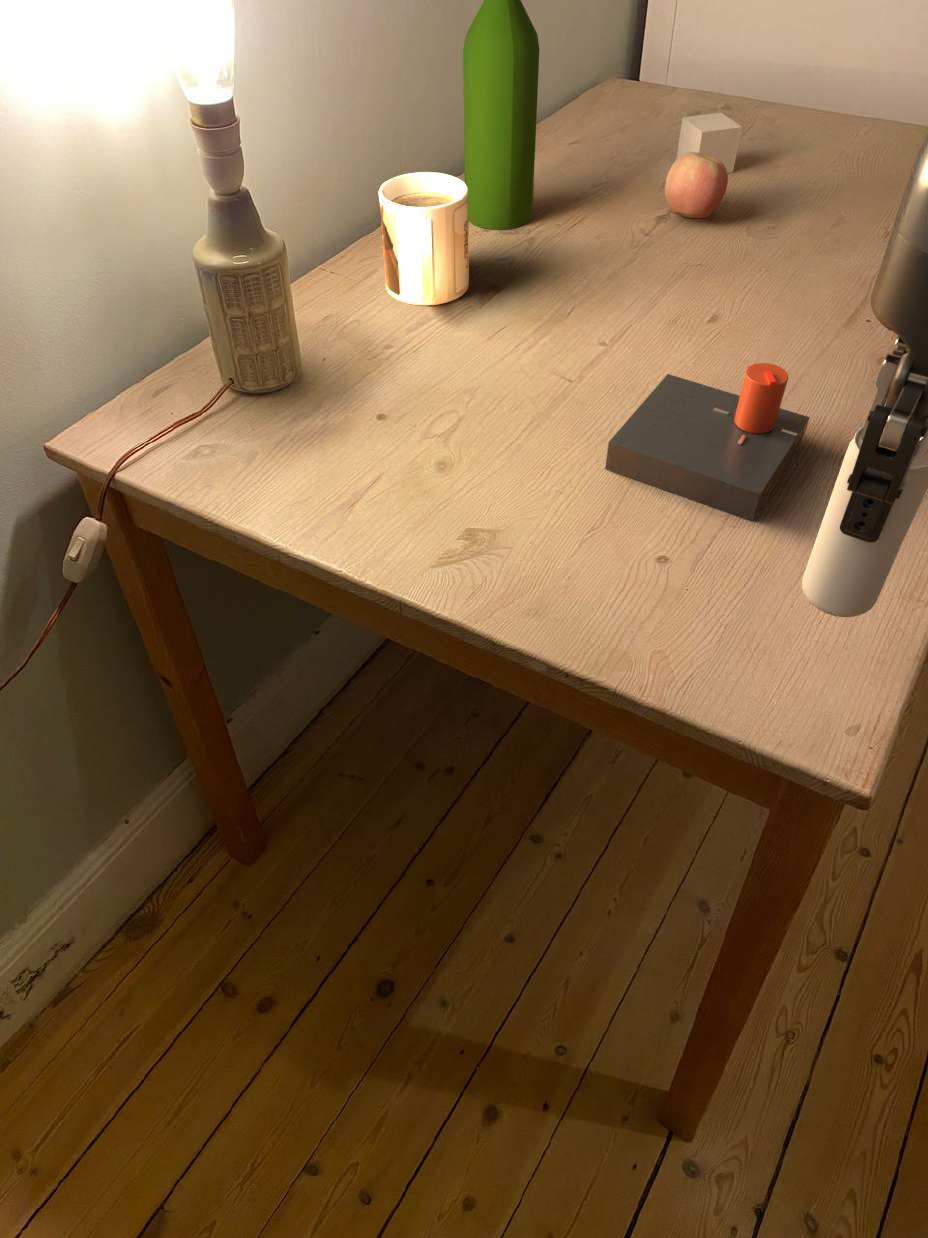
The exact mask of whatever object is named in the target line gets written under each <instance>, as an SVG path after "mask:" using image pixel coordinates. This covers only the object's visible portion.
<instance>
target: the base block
mask: <svg viewBox="0 0 928 1238" xmlns="http://www.w3.org/2000/svg"><path fill="white" fill-rule="evenodd" d="M739 397H740V394H739V395H738V394H735V393H732V392H729V391H725V390H723V389H719V388H715V387H712V386H709V385H706V384H702V383H698V382H696V381H693V380H690V379H686V378H682V377H680V376H676V375H673V374H669V373H666V375H665V376H664V377H663V379H662V380H660V382H659V383H658V384H657V386H656V387H655V388H654V389H653V390H652V391H651V392H650V394H649V395H648V396H647V397H646V398H645V399H644V401H642V403H641V404H640V405H639V406H638V408H636V410H635V411H634V412H633V413H632V414H631V415H630V416H629V418H628V419H627V420H626V421H625V422H624V423H623V425H622V426H621V427H620V428H619V429H618V430H617V432H616V433H615V434H614V435H613V436H612V438H611V439H610V440H609V441H608V444H607V452H606V459H605V467H604V468H605V470H607V471H610V472H613V473H615V474H619V475H621V476H624V477H627V478H630V479H633V480H635V481H638V482H641V483H643V484H647V485H648V486H652V487H655V488H658V489H661V490H664V491H666V492H668V493H672V494H675V495H678V496H680V497H683V498H686V499H689V500H691V501H694V502H697V503H700V504H702V505H706V506H708V507H711V508H713V509H716V510H719V511H721V512H725V513H728V514H730V515H733V516H736V517H739V518H742V519H744V520H747V521H750V522H754V520H755V518H756V517H757V515H758V514H759V512H760V510H761V509H762V507H763V506H764V504H765V503H766V501H767V499H768V498H769V496H770V495H771V493H772V491H773V490H774V488H775V486H776V485H777V484H778V482H779V480H780V479H781V477H782V475H783V474H784V472H785V471H786V469H787V468H788V466H789V464H790V463H791V462H792V459H794V456H795V455H796V453H797V452H798V450H799V448H800V447H801V445H802V443H803V441H804V437H805V434H806V431H807V427H808V424H809V421H810V416H807V415H804V414H801V413H797V412H794V411H791V410H788V409H784V408H781V407H780V409H779V413H778V416H777V420H776V423H775V426H774V428H773V429H772V430H771V431H769V432H767V433H762V434H755V433H749V432H746V431H744V430H742V429H740V428H739V427H738V426H737V425H736V424H735V421H734V418H735V414H736V410H737V406H738V402H739Z"/></svg>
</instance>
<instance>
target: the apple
mask: <svg viewBox="0 0 928 1238" xmlns="http://www.w3.org/2000/svg"><path fill="white" fill-rule="evenodd" d="M728 177H729V175H728V173H727V170H726V167H725V166H724V164H723V163H722V162H721V161H720V160H718V159H716V158H714V157H712V156H710V155H708V154H704V153H697V152H689V153H686V154H684V155H682V156H680V157H679V158H678V159H677V160H676V159H675V161H674V162H673V164H672V165H671V167H670V169H669V171H668V173H667V176H666V179H665V182H664V183H665V184H664V197H665V199H664V200H665V203H666V205H667V207H668V209H669V210H670V212H672V213H673V214H675V215H677V216H681V217H685V218H690V219H704V218H707V217H708V216H710V215H711V214H713V213H714V212H715V211H716V210H717V208H718V207H719V206H720V204H721V202H722V200H723V199H724V196H725V194H726V192H727V187H728V182H729V178H728Z"/></svg>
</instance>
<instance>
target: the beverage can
mask: <svg viewBox="0 0 928 1238" xmlns="http://www.w3.org/2000/svg"><path fill="white" fill-rule="evenodd" d="M863 427H864V425H863V426H861V427H860V428H859V429H858V430H857V431H856V432H855V434H854V437H853V438H852V440H851V441H850V442H849V444H848V446H847V449H846V452H845V454H844V457H843V460H842V464H841V466H840V469H839V473H838V475H837V478H836V480H835V483H834V487H833V489H832V492H831V495H830V498H829V501H828V504H827V506H826V509H825V513H824V516H823V518H822V521H821V524H820V526H819V530H818V533H817V535H816V538H815V541H814V544H813V547H812V549H811V553H810V556H809V558H808V562H807V565H806V568H805V570H804V573H803V576H802V578H801V588H802V591H803V594H804V596H805V597H806V598H807V600H808V601H809V603H811V605H813V606H814V608H816V609H817V610H819V611H821V612H823V613H825V614H826V615H830V616H833V617H837V618H838V617H839V618H854V617H857V616H861V615H864V614H866V613H867V612H869V611H870V610H872V609H873V608H874V606H875V605H876V603H877V601H878V600H879V597H880V595H881V592H882V590H883V587H884V585H885V583H886V581H887V578H888V577H889V574H890V572H891V569H892V567H893V565H894V563H895V560H896V558H897V557H898V553H899V552H900V549H901V547H902V545H903V543H904V540H905V538H906V536H907V534H908V532H909V529H910V527H911V526H912V523H913V521H914V519H915V516H916V514H917V512H918V510H919V508H920V506H921V504H922V502H923V500H924V497H925V495H926V494H927V491H928V452H927V453H926V455H924V456H923V457H920V458H916V459H914V460H913V462H912V465H911V467H910V469H909V472H908V474H907V477H906V479H905V482H907V484H906V486H905V488H904V490H903V491H902V493H901V495H900V498H899V499H897V498H896V500H895V502H894V504H893V505H892V508H891V510H890V513H889V515H888V517H887V520H886V522H885V525H884V527H883V530H882V532H881V534H880V536H879V538H878V540H877V541H875V542H872V543H870V542H866V541H863V540H860V539H857V538H854V537H851V536H848V535H845V534H843V533H842V532H841V530H840V524H841V521H842V518H843V516H844V513H845V510H846V507H847V505H848V502H849V499H850V497H851V494H852V492H851V491H848V490H847V488H848V485H849V483H847V481H848V478H849V476H850V474H852V472H853V469H854V466H855V463H856V460H857V457H858V454H859V451H860V448H861V444H862V441H863V440H862V438H861V433H862V430H863Z"/></svg>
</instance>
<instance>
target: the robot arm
mask: <svg viewBox="0 0 928 1238" xmlns="http://www.w3.org/2000/svg"><path fill="white" fill-rule="evenodd" d="M907 180H908V181H907V184H906V187H905V189H904V193H903V196H902V200H901V202H900V205H899V208H898V212H897V214H896V218H895V220H894V223H893V227H892V230H891V233H890V237H889V239H888V242H887V245H886V248H885V252H884V255H883V258H882V261H881V264H880V266H879V270H878V273H877V276H876V280H875V283H874V286H873V288H872V292H871V295H870V307H871V311H872V313H873V315H874V317H875V318H876V319H877V321H878V322H879V323H880V324H881V325H882V326H883V327H884V328H885V329H887V330H888V331H891V332H893V333H894V334H895V335H897V338H896V340H895V343H894V345H893V348H892V351H891V353H890V352H889V353H886V356H885V358H884V360H883V363H882V365H881V368H880V369H879V373H878V376H877V378H876V381H875V385H876V388H877V392H876V394H875V397H874V400H873V402H872V404H871V408H870V410H869V412H868V415H867V418H866V420H865V422H864V425H863V426H864V427H863V426H862V427H863V430H862V433H861V438H862V440H863V441H862V444H861V448H860V451H859V454H858V457H857V460H856V463H855V466H854V469H853V472H852V474H850V476H849V478H848V481H847V483H849V485H848V488H847V490H848V491H851V492H852V494H851V497H850V499H849V502H848V505H847V507H846V510H845V513H844V516H843V518H842V521H841V524H840V530H841V532H842V533H843V534H845V535H848V536H851V537H854V538H857V539H860V540H863V541H866V542H870V543H872V542H875V541H877V540H878V538H879V536H880V534H881V532H882V530H883V527H884V525H885V522H886V520H887V517H888V515H889V513H890V510H891V508H892V505H893V504H894V502H895V500H896V498H897V499H899V498H900V495H901V493H902V491H903V490H904V488H905V486H906V484H907V482H905V479H906V477H907V474H908V472H909V469H910V467H911V465H912V462H913V460H914V459H916V458H920V457H923V456H924V455H926V453H927V452H928V133H926V135H925V137H924V140H923V142H922V144H921V146H920V149H919V150H918V153H917V155H916V158H915V160H914V163H913V166H912V168H911V171H910V174H909V177H908V179H907Z"/></svg>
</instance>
